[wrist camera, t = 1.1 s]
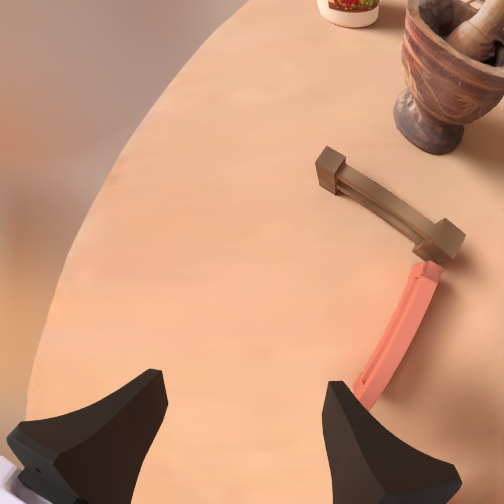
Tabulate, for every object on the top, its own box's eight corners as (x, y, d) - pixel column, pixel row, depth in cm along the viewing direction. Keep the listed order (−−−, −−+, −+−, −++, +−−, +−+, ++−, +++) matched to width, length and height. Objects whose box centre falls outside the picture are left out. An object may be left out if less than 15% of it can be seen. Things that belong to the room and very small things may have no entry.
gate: (413, 264, 21) (430, 260, 17) (425, 270, 21) (443, 267, 16) (353, 385, 21) (355, 405, 17) (364, 390, 21) (369, 411, 17)
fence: (560, 353, 14) (588, 361, 9) (548, 377, 14) (574, 389, 9) (336, 160, 24) (334, 130, 19) (318, 187, 24) (312, 161, 19)
